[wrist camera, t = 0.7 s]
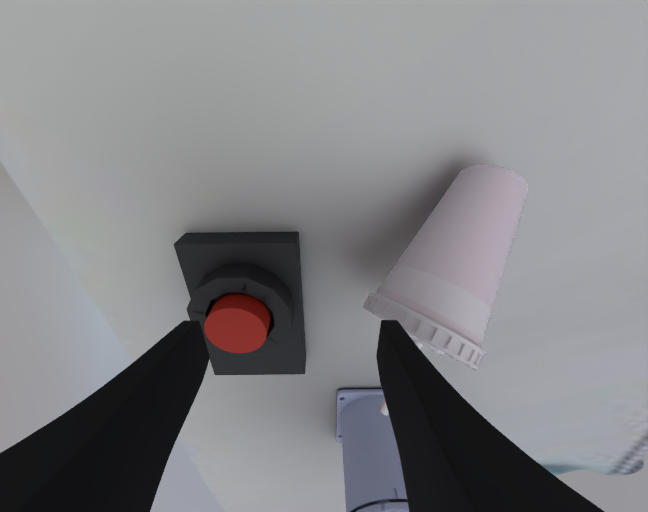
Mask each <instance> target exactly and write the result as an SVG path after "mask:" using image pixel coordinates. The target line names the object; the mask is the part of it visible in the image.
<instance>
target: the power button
mask: <svg viewBox="0 0 648 512" xmlns="http://www.w3.org/2000/svg"><path fill="white" fill-rule="evenodd" d="M269 324H270V313H269V311H268V309H267V307H266V306H265V305H264V304H263V303H262V302H261V301H260V300H259V299H257V298H255V297H253V296H250V295H247V294H242V293H233V294H228V295H225V296H223V297H221V298H220V299H218V300H217V301H216V302H215V304H214V306H213V308H212V309H211V311H210V313H209V315H208V317H207V319H206V321H205V324H204V330H205V334H206V336H207V338H208V339H209V340H210V341H211V342H212V343H213V344H214V345H215V346H217V347H218V348H220V349H222V350H225V351H228V352H232V353H248V352H252V351H254V350H256V349H258V348H259V347H261V346H262V345H263V343H264V342H265V340H266V337H267V333H268V328H269Z"/></svg>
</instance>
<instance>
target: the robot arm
mask: <svg viewBox="0 0 648 512" xmlns="http://www.w3.org/2000/svg"><path fill="white" fill-rule="evenodd" d="M209 358H210V355H209V352H208V349H207V345H206V342H205V339H204V335H203V332H202V328H201V325H200V322H199V321H183V322H181V323H180V324H179V325H178V326H177V327H175V328H174V329H173V330H172V331H171V332H169V333H168V334H167V335H166V336H165V337H163V338H162V339H161V340H160V341H159V342H158V343H156V344H155V345H154V346H153V347H152V348H150V349H149V350H148V351H147V352H146V353H144V354H143V355H142V356H141V357H140V358H138V359H137V360H136V361H135V362H133V363H132V364H131V365H130V366H129V367H127V368H126V369H125V370H123V371H122V372H121V373H119V374H118V375H117V376H116V377H114V378H113V379H112V380H110V381H109V382H108V383H106V384H105V385H104V386H103V387H101V388H100V389H99V390H97V391H96V392H94V393H93V394H92V395H90V396H89V397H87V398H86V399H85V400H83V401H82V402H80V403H79V404H77V405H76V406H74V407H73V408H72V409H70V410H69V411H67V412H66V413H64V414H63V415H62V416H60V417H58V418H57V419H55V420H54V421H52V422H50V423H49V424H47V425H46V426H44V427H42V428H41V429H39V430H38V431H36V432H34V433H33V434H31V435H30V436H28V437H26V438H25V439H23V440H21V441H20V442H18V443H17V444H15V445H13V446H12V447H10V448H8V449H7V450H5V451H3V452H2V453H0V512H150V510H151V507H152V504H153V501H154V498H155V495H156V491H157V488H158V486H159V483H160V480H161V477H162V475H163V472H164V469H165V466H166V463H167V460H168V458H169V455H170V453H171V450H172V448H173V445H174V443H175V441H176V439H177V437H178V434H179V432H180V430H181V428H182V426H183V423H184V421H185V419H186V417H187V415H188V412H189V410H190V408H191V406H192V404H193V401H194V399H195V397H196V395H197V392H198V390H199V388H200V386H201V383H202V381H203V378H204V374H205V371H206V368H207V365H208V361H209ZM377 363H378V370H379V376H380V382H381V386H382V389H350V390H339V391H338V392H337V418H336V441H337V442H338V443H342V448H343V465H344V481H345V498H346V512H604V511H603V510H601V509H600V508H598V507H597V506H596V505H594V504H593V503H591V502H590V501H589V500H587V499H586V498H584V497H583V496H581V495H580V494H579V493H577V492H576V491H574V490H573V489H572V488H570V487H569V486H567V485H566V484H565V483H563V482H562V481H560V480H559V479H558V478H557V477H555V476H554V475H553V474H551V473H550V472H549V471H548V470H546V469H545V468H544V467H542V466H541V465H540V464H538V463H537V462H536V461H534V460H533V459H532V458H531V457H529V456H528V455H527V454H526V453H525V452H523V451H522V450H521V449H520V448H519V447H517V446H516V445H515V444H514V443H513V442H511V441H510V440H509V439H508V438H507V437H505V436H504V435H503V434H502V433H501V432H499V431H498V430H497V429H496V428H495V427H494V426H492V425H491V424H490V423H489V422H488V421H487V420H486V419H485V418H484V417H483V416H481V415H480V414H479V413H478V412H477V411H476V410H475V409H474V408H473V407H472V406H471V405H470V404H469V403H468V402H467V401H466V400H465V399H464V398H463V397H462V396H461V395H460V394H459V393H458V392H457V391H456V390H455V389H454V388H453V387H452V386H451V385H450V384H449V383H448V382H447V380H446V379H445V378H444V377H443V376H442V375H441V374H440V373H439V372H438V371H437V369H436V368H435V367H434V366H433V365H432V364H431V362H430V361H429V360H428V359H427V358H426V356H425V355H424V354H423V353H422V352H421V350H420V349H419V348H418V347H417V345H416V344H415V343H414V341H413V340H412V339H411V338H410V336H409V335H408V334H407V332H406V331H405V330H404V328H403V327H402V325H401V324H400V323H399V322H398V321H397V320H381V327H380V334H379V341H378V349H377ZM383 398H385V401H386V405H387V409H388V413H389V414H388V416H386V415H384V414H382V413H381V412H380V411H379V410H378V408H379V406H380V404H381V402H382V400H383Z"/></svg>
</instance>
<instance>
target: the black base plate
mask: <svg viewBox="0 0 648 512" xmlns="http://www.w3.org/2000/svg"><path fill="white" fill-rule="evenodd" d="M174 247H175V250H176V253H177V256H178V259H179V263H180V266H181V269H182V272H183V275H184V278H185V282H186V285H187V288H188V291H189V294H190V298H191V300H190V303H189V305H188V307H187V312H188V315H189V318H190V321H199V322H200V325H201V328H202V332H203V335H204V339H205V342H206V345H207V349H208V352H209V355H210V361H211V364H212V367H213V370H214V374H215V375H264V374H305V366H306V349H305V333H304V316H303V299H302V283H301V266H300V249H299V233H298V232H237V233H185V234H184V235H183V236H182V237H181V238H180V239H179V240H178V241H177V242H176V243H174ZM233 293H242V294H247V295H250V296H253V297H255V298H257V299H259V300H260V301H261V302H262V303H263V304H264V305H265V306H266V307H267V309H268V311H269V313H270V324H269V328H268V333H267V337H266V340H265V342H264V343H263V345H262V346H261V347H259V348H258V349H256V350H254V351H252V352H248V353H232V352H228V351H225V350H222V349H220V348H218V347H217V346H215V345H214V344H213V343H212V342H211V341H210V340H209V339H208V338H207V336H206V334H205V330H204V324H205V321H206V319H207V317H208V315H209V313H210V311H211V309H212V308H213V306H214V304H215V302H216V301H217V300H218V299H220V298H221V297H223V296H225V295H228V294H233Z"/></svg>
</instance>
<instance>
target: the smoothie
mask: <svg viewBox="0 0 648 512" xmlns="http://www.w3.org/2000/svg"><path fill="white" fill-rule="evenodd" d="M528 190H529V189H528V185H527V183H526V181H525V180H524V179H523V178H522V177H521V176H519V175H518V174H517V173H515V172H513V171H511V170H509V169H506V168H503V167H499V166H495V165H486V164H480V165H472V166H469V167H466V168H464V169H463V170H461V171H460V173H459V174H458V175H457V177H456V178H455V180H454V181H453V183H452V184H451V185H450V187H449V188H448V190H447V191H446V193H445V194H444V195H443V197H442V198H441V200H440V201H439V203H438V204H437V205H436V207H435V208H434V210H433V211H432V213H431V214H430V215H429V217H428V218H427V220H426V221H425V223H424V224H423V226H422V227H421V228H420V230H419V231H418V233H417V234H416V236H415V237H414V238H413V240H412V241H411V243H410V244H409V246H408V247H407V248H406V250H405V251H404V253H403V254H402V256H401V257H400V258H399V260H398V261H397V263H396V264H395V266H394V267H393V268H392V270H391V271H390V273H389V274H388V276H387V277H386V278H385V280H384V281H383V283H382V284H381V286H380V287H379V288H378V290H377V291H376V293H375V292H369V296H368V298H367V300H366V302H365V304H364V305H363V307H364V308H365V309H366V310H368V311H370V312H371V313H373V314H375V315H376V316H378V317H380V318H382V319H384V320H397V321H398V322H399V323H400V324H401V325H402V327H403V328H404V330H405V331H406V332H407V334H408V335H409V336H410V337H411V338H412V339H413V341H414V343H415V344H416V345H417V347H418V348H419V349H421V347H422V345H425V346H427V347H428V348H430V349H432V350H434V351H436V352H437V353H439V354H441V355H444V353H445V354H446V355H448V356H450V357H452V358H453V359H455V360H457V361H459V362H461V363H463V364H465V365H466V366H468V367H470V368H472V369H474V370H476V369H478V367H479V365H480V363H481V360H482V358H483V356H484V355H486V354H487V353H486V352H485V351H484V350H483V349H482V348H480V347H481V344H482V340H483V337H484V334H485V331H486V328H487V325H488V322H489V319H490V316H491V312H492V308H493V305H494V302H495V298H496V295H497V292H498V289H499V285H500V282H501V279H502V276H503V272H504V269H505V266H506V263H507V259H508V256H509V253H510V250H511V246H512V243H513V240H514V236H515V233H516V230H517V227H518V223H519V220H520V217H521V214H522V210H523V207H524V204H525V201H526V197H527V194H528ZM378 410H379V411H380V412H381V413H382V414H384V415H386V416H388V414H389V413H388V409H387V405H386V401H385V398H383V400H382V402H381V404H380V406H379V408H378Z"/></svg>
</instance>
